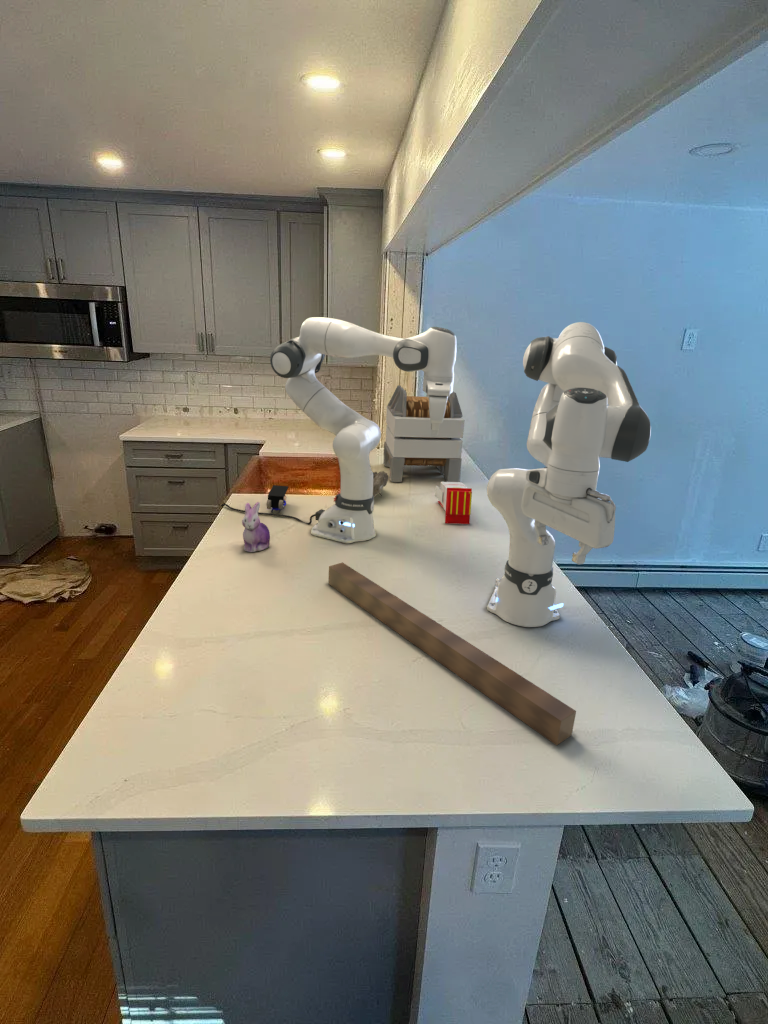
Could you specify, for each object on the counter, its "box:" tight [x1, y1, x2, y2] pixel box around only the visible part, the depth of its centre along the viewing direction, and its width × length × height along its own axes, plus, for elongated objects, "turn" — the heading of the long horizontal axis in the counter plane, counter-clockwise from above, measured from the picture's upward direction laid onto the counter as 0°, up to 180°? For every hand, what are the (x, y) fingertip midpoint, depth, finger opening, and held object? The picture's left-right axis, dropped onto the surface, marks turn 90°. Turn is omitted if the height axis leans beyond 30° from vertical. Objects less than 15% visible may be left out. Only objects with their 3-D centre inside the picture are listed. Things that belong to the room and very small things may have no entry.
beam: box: [328, 562, 577, 746], centre depth 134 cm, size 78×5×6 cm, turn 38°
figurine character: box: [266, 484, 289, 514], centre depth 218 cm, size 7×8×15 cm
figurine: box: [241, 501, 271, 553], centre depth 181 cm, size 9×10×15 cm
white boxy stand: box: [383, 384, 465, 483], centre depth 268 cm, size 34×33×41 cm
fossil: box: [372, 470, 389, 498], centre depth 237 cm, size 22×10×15 cm
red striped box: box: [434, 481, 473, 525], centre depth 222 cm, size 12×13×30 cm
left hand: (434, 432), depth 170 cm, fingers open, 8 cm apart
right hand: (559, 553), depth 106 cm, fingers open, 8 cm apart
